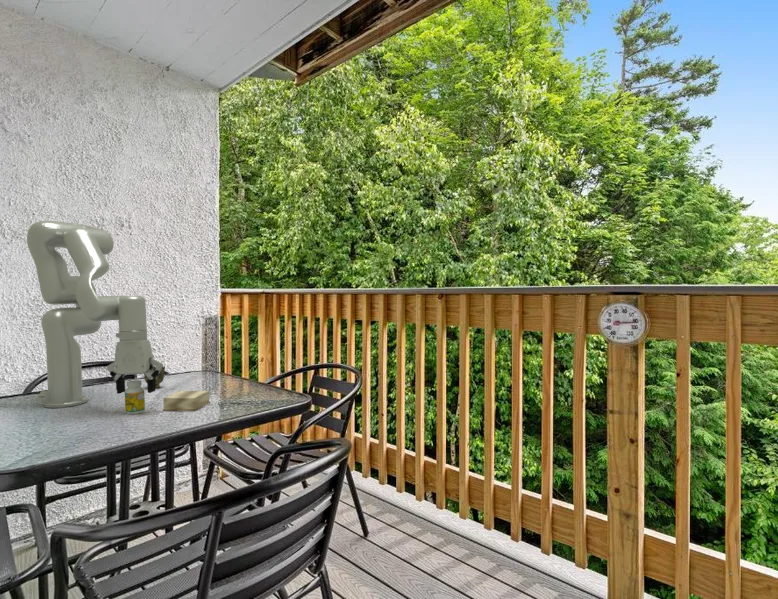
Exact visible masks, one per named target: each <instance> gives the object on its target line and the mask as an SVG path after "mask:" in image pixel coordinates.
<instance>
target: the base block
mask: <svg viewBox="0 0 778 599" xmlns="http://www.w3.org/2000/svg"><path fill="white" fill-rule="evenodd" d="M162 400H163V409H162V411H163V412H197V411H199V410H200V409H202V408H204V407H206V406H207V405H206V404H208V403H209V404H211V401H210V390H178V391H176V392H173V393H172V394H169V395H167V396H164V397H163V399H162ZM209 404H208V405H209ZM205 405H206V406H205ZM203 406H204V407H203ZM201 407H202V408H201ZM198 409H199V410H198ZM196 410H197V411H196Z"/></svg>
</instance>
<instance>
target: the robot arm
mask: <svg viewBox="0 0 778 599" xmlns="http://www.w3.org/2000/svg"><path fill="white" fill-rule="evenodd" d="M26 243H27V248H28V250H29V253H30V255H31V257H32V259H33V263H34V264H35V268H36V274H37V280H38V285H39V288H40V293H41V297H42V299H43V301H44V302H45V303H47V304H49V305H56V306H57V305H58V306H59V305H60V306H61V305H75V307H73V306H70V307H58V308H53V309H49V310H48V311H46V312H45V313H44V314H43V316H42V317H41V323H40V324H41V328H42V332H43V336H44V340H45V348H46V350H45V351H46V354H45V355H46V375H47V390H41V391H40V392H39V393H38V395H37V398H39V399H43V398H44V401H43V402H42V407H44V408H49V409H50V408H51V409H52V408H53V409H55V408H56V409H57V408H68V407H72V406H73V407H74V406H79V405H82V403H83V404H85V403H87V402H88V401H89V397H88V396H86V395H83V374H82V373H83V372H82V371H83V370H82V369H83V368H82V351H81V350H82V349H81V345H80V344H79V343H78V341H77V340H76V338H75V337H76V336H84V335H90V334H94V333H97V332H98V331H99V330H100V328H101V326H102V322H107V321H109V322H110V321H118V332H117V333H115V337H116V338H118V339H119V341H117V342H116V345H115V352H114V362H111V363H110V364H108V365H107V366H106V369H107V371H108V372H109V375H110V376H111V377H112V378H113V381H115V387H116V394H122V393H125V390H126V380H125V378H124V377H125V376H127V375H144V374H145V375H146V376H147V377H148V378H149V380H147V383H146V386H147V387H146V389H147V394H148V393H149V394H151V393H153V392H156V378H157V376H158V375H159V374H160V373H161V370H162V368H163V367H164V363H162V362H160V361H158V360H155V359H154V355H153V348H152V345H151V341H150V339H148V330H147V329H148V324H147V306H146V299H145V297H144V296H142V295H100V296H98V294H97V290H96V286H95V285H94V283H93V281H95V280H97V279H100V278H101V277H102V276H104V275H106V274H107V273H108V272H109V271H110V270H109V269H110V265H109V263H108V260H107V259H106V257H105V255H109V254H110V253H111V252H112V251H113V249H114V247H115V246H114V245H115V244H114V243H115V242H114V239H113V237H112V235H111V234H110V233H109V232H108V231H107V230H105V229H103V228H102V229H101V228H98V227H95V226H94V227H93V226H91V225H86V224H81V223H72V222H65V221H57V220H40V221H36V222H34V223H33V224H32V225H30V226H29V229H28V231H27V235H26ZM56 248H61V249H62V248H63V249H67V252H68V253H69V255H70V257H71V259H72V261H73V264H74V266H75V267H76V269H77V271H78V273H79V275H70V274H69V273H70V272H69V271H68V265H67V261H66V260H65V259H64V258H65V257H63V256H62V254H61V253H59V252H58V251H57V250H56ZM154 366H155V368H156V370H155V371H153V368H154Z"/></svg>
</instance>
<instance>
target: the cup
mask: <svg viewBox="0 0 778 599" xmlns="http://www.w3.org/2000/svg"><path fill="white" fill-rule="evenodd" d="M165 369H166V367H165V365H163V368H162V370H161V373H160V374H159V375H158V376H157V378H156V388H157V389H160V387H161V385H160V384H161V383H162V382H163V381H164V377H165V371H166V370H165ZM155 370H156V366H154V368H153V371H155ZM143 378H144V381H145V383H146V384H147V380H149V378H148V377H147V376H146V375H145V374H143Z"/></svg>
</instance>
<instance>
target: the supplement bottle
mask: <svg viewBox="0 0 778 599" xmlns="http://www.w3.org/2000/svg"><path fill="white" fill-rule="evenodd" d="M142 385H143V384H142V380H139V379H138V380H137V379H135V380H129V381H126V387H127V388H125V392H124V406H125V407H124V408H125V414H127V415H139V414H142V412H143V413H145V410H146V402H145V388H144V387H143V386H142ZM138 413H139V414H138Z"/></svg>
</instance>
